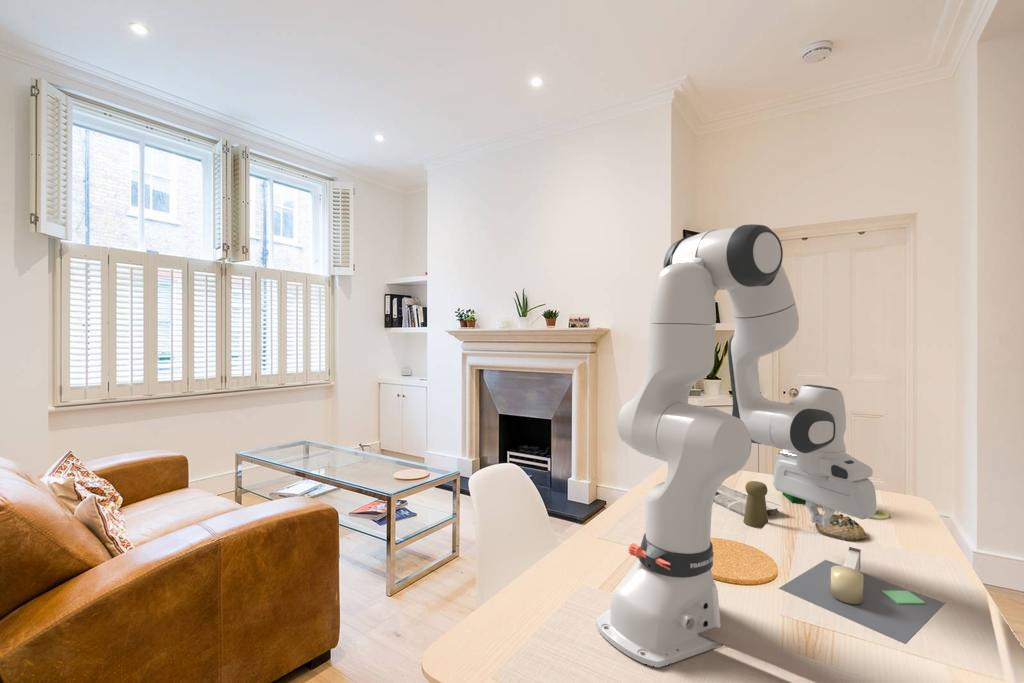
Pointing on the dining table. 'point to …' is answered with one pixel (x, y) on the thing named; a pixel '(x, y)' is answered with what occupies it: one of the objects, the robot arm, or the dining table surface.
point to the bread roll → (842, 528)
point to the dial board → (868, 602)
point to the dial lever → (848, 579)
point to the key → (880, 517)
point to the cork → (756, 505)
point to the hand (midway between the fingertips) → (820, 523)
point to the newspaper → (738, 500)
